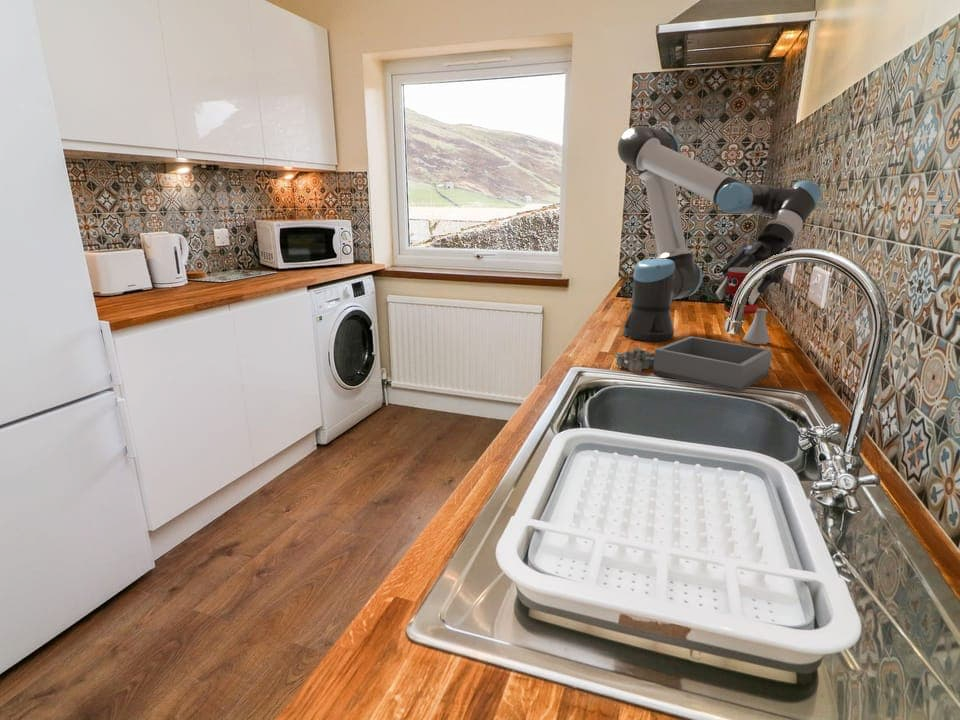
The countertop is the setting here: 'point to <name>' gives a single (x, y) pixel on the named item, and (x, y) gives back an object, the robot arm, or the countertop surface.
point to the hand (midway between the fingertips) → (733, 298)
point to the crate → (712, 363)
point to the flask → (758, 329)
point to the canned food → (732, 285)
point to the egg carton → (635, 359)
